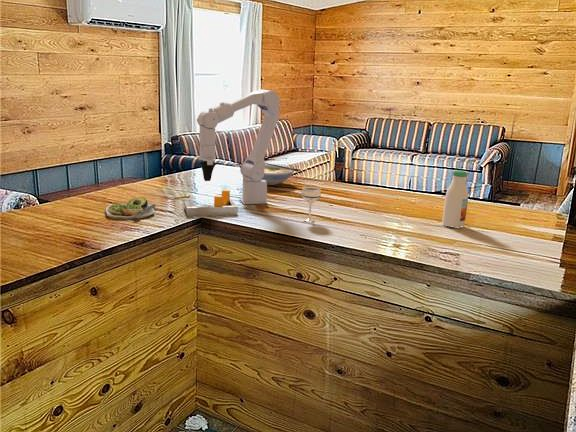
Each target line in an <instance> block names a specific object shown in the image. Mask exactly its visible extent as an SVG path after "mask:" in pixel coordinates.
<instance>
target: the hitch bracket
mask: <svg viewBox="0 0 576 432" xmlns="http://www.w3.org/2000/svg"><path fill="white" fill-rule="evenodd" d="M183 204H184V207H183V209H184V211H185V213H186V217H200V216H201V217H204V216H205V217H206V216H209V217H210V216H233V215H238V207H239V206H238V205H236V203H235V202H234V201H233V199H230V200H229V206H214V205H211V206H210V205H208V206H207V205H206V206H205V205H204V206H190V204H189V201H184V202H183Z"/></svg>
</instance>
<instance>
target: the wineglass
mask: <svg viewBox="0 0 576 432" xmlns="http://www.w3.org/2000/svg"><path fill="white" fill-rule="evenodd" d="M321 190H322V187H320V186H316V185H303V186H302V189H301V197H302V198H303V200H304V201H306V202H307V203H308V204H309V211H308V213H309V214H308V215H309V216H308V218H304V219H305V221H314V220H315V219H314V218H311V215H312V206H313V205H312V204H313V203H315V202H317V201H318V200H319V199H320V198H321V196H322V195H321Z"/></svg>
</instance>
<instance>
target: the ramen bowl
mask: <svg viewBox="0 0 576 432" xmlns="http://www.w3.org/2000/svg"><path fill="white" fill-rule="evenodd" d="M294 171H295V172H301V171H302V169H300V168H299V169H298V168H294V167H291V166H287V165H282V164H272V163H268V162H265V168H264V176H263V178H262V179H261V180H266V182H267V185H274V186H277V185H279V184H282V183H283V182H286V181H287V180H288V179H290V177H291V176H292V175H293V173H294Z"/></svg>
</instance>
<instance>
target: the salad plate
mask: <svg viewBox="0 0 576 432" xmlns="http://www.w3.org/2000/svg"><path fill="white" fill-rule="evenodd" d="M155 207H157V204H154V203H153V204H149V203H148V200H147V198H145V197H143V196H142V197H141V196H140V197H134V198H131V199H130V200H128V202H127V204H122V203H121V204H120V203H119V204H118V203H115V204H111V205H108V206H106V207H105V214H106V216H108V217H109V218H111V219H114V220H122V221H123V220H124V221H125V220H126V221H127V220H139V219H144V218H147V217H151V216H153V215H154V214H155V213H156V212H155V209H154V208H155ZM119 215H120V216H119ZM121 215H122V216H121Z"/></svg>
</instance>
